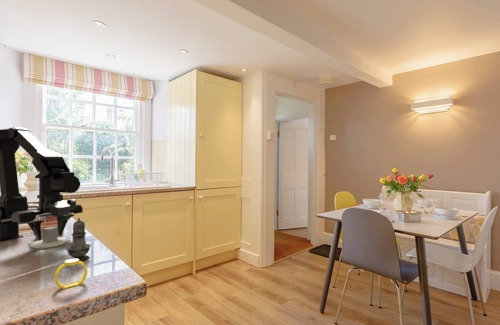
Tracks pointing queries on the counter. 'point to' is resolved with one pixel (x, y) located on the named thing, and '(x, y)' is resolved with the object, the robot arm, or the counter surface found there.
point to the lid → (49, 239)
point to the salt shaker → (79, 242)
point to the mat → (47, 248)
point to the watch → (68, 263)
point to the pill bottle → (48, 218)
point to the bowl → (48, 224)
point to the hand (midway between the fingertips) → (50, 238)
